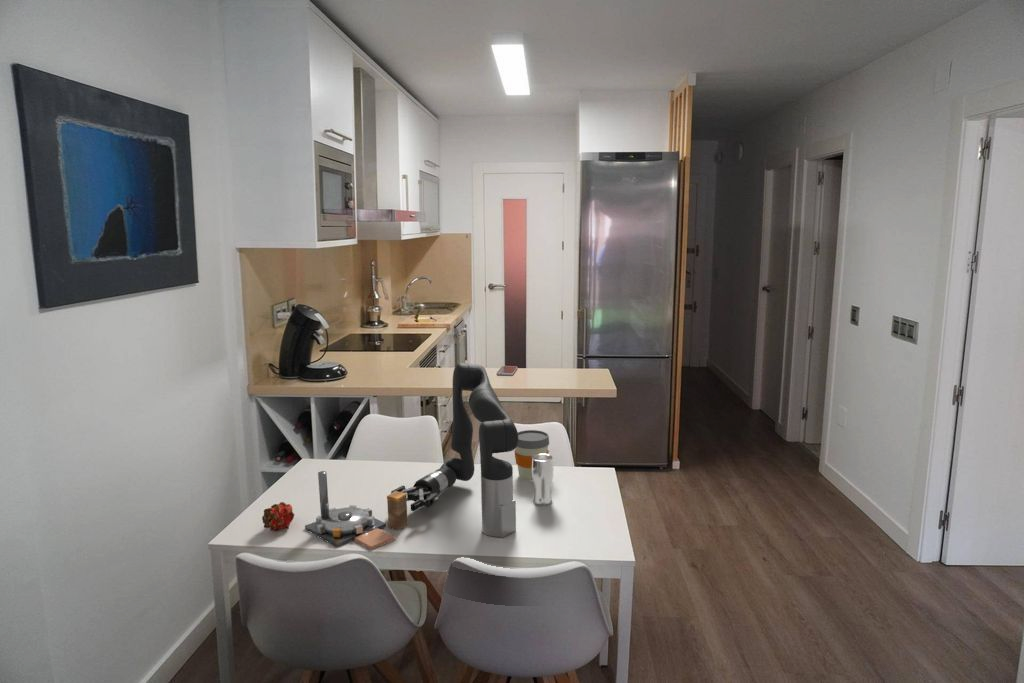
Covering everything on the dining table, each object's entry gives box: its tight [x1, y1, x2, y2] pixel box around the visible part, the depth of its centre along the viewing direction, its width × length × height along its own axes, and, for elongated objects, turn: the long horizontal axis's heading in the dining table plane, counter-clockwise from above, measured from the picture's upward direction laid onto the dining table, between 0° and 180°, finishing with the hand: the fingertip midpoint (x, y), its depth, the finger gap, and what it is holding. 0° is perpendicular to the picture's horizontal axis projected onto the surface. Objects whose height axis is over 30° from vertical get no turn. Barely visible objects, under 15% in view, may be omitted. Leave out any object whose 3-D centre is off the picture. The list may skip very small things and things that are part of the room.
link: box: [386, 491, 409, 531], centre depth 202 cm, size 4×4×10 cm
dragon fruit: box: [261, 501, 295, 532], centre depth 203 cm, size 8×8×12 cm
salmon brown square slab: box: [354, 528, 395, 550], centre depth 195 cm, size 8×8×1 cm
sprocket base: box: [304, 517, 387, 548], centre depth 203 cm, size 17×17×1 cm
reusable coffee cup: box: [513, 429, 550, 482], centre depth 240 cm, size 13×13×15 cm
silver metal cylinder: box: [532, 453, 555, 506], centre depth 218 cm, size 7×7×15 cm
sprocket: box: [315, 470, 375, 537], centre depth 201 cm, size 17×17×16 cm
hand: (400, 505), depth 204 cm, fingers open, 8 cm apart
